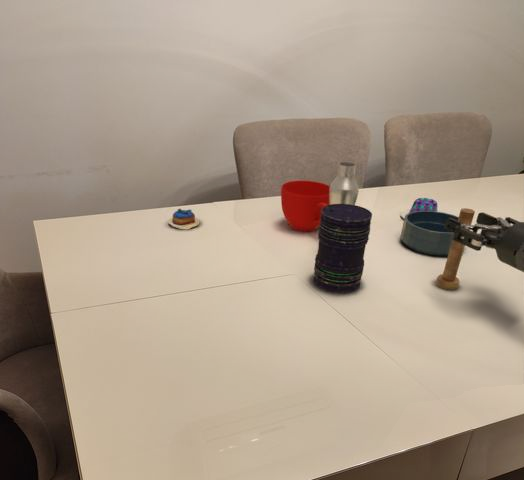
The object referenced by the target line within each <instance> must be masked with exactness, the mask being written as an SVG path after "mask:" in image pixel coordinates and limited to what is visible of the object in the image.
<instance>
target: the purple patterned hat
mask: <svg viewBox="0 0 524 480" xmlns="http://www.w3.org/2000/svg"><path fill="white" fill-rule="evenodd" d="M414 211H437V212H438V202H437V201H436V200H435V199H432V198H428V197H418V198H417V199H415V200H414V201H413V203H412V205H411V207H410V209H405V210H403V211H401V212H400V216H401V217H402V218H403V219H404V218H405V215H406V214H408V213H410V212H414Z"/></svg>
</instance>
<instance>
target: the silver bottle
mask: <svg viewBox="0 0 524 480" xmlns="http://www.w3.org/2000/svg"><path fill="white" fill-rule="evenodd" d="M337 167H338V168H337V170H336V171H337V176H336V177H335V178H334V179H333V180H332V182H331V183H330V185H329V186H330V188H329V205H331V204H350V205H356V203H357V200H358V196H359V192H360V191H359V189H360V188H359V185H358V182H357V180H356V178H355V175H356V168H357V165H356V164H355V163H354V162H349V161H348V162H347V161H341V162H339V163H338V166H337Z"/></svg>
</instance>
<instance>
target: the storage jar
mask: <svg viewBox="0 0 524 480" xmlns="http://www.w3.org/2000/svg"><path fill="white" fill-rule="evenodd" d="M372 218H373V213H372V212H371V210H369V209H367V208H366V207H363V206H359V205H356V204H355V205H350V204H331V205H327V206H324V207H323V208H322V210H321V219H320V223H319V226H318V232H317V235H318V236H317V238H318V248H317V253H316V255H315V257H314V261H315V262H314V265H313V267H314V268H313V270H314V273H313V275H314V276H313V284H314V285H315V286H316V287H317V288H318V289H320V290H322V291H325V292H327V293H332V294H350V293H351V294H352V293H354V292H357V290H358V289H360V287H361V280H362V277H363V273H364V267H365V259H364V257H365V252H366V251H365V250H366V246H367V244H368V242H369V240H370V233H371V223H372V222H371V221H372Z"/></svg>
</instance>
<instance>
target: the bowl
mask: <svg viewBox="0 0 524 480" xmlns="http://www.w3.org/2000/svg"><path fill="white" fill-rule="evenodd" d="M447 218H453V219H455V220H458V218H459V216H457V215H455V214H451V213H447V212H443V211H438V210H437V211H414V212H410V213H408V214H406V215H405V218H403V223H402V228H401V233H400V236H399V237H400V239H401V241H402V243H404V244H405V246H406V247H407V248H409V249H411V250H412V251H415V252H417V253H420V254H423V255H428V256H435V257H436V256H437V257H446V256H447V257H448V254H449V250H450V247H451V243H452V240H453V236H454V233H453V232H450V231H448V230H446V229H445V223H446V219H447ZM465 248H466V246H465V247H464V249H465Z"/></svg>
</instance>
